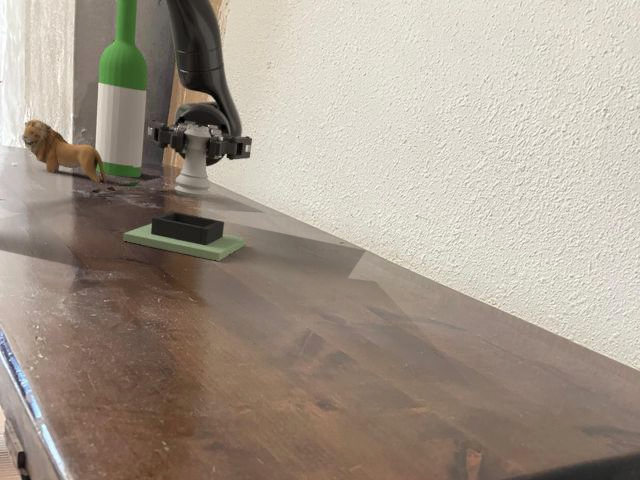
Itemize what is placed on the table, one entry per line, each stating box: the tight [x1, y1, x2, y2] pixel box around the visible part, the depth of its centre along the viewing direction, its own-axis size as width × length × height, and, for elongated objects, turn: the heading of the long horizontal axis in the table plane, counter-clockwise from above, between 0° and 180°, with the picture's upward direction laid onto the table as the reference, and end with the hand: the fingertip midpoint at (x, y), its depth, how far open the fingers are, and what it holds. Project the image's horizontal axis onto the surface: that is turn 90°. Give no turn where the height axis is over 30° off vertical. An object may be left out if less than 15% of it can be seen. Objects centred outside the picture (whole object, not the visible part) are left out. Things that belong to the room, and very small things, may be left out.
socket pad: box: [123, 210, 246, 262], centre depth 94 cm, size 12×12×3 cm
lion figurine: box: [21, 119, 116, 194], centre depth 116 cm, size 15×5×9 cm, turn 88°
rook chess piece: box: [174, 124, 212, 199], centre depth 91 cm, size 4×4×8 cm
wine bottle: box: [94, 0, 148, 187], centre depth 123 cm, size 8×8×30 cm
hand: (195, 146), depth 87 cm, fingers closed on rook chess piece, 3 cm apart
